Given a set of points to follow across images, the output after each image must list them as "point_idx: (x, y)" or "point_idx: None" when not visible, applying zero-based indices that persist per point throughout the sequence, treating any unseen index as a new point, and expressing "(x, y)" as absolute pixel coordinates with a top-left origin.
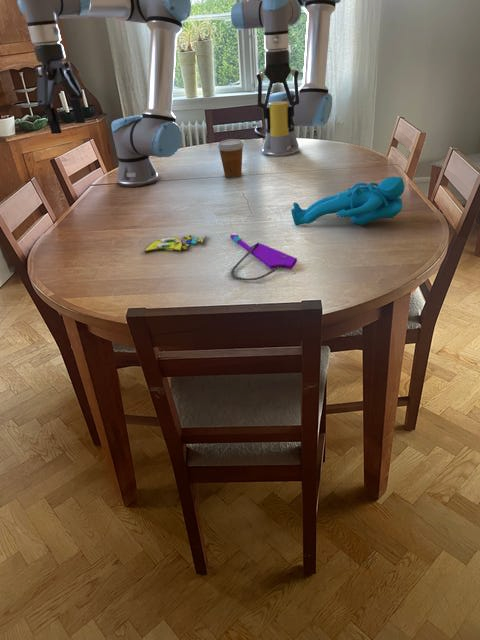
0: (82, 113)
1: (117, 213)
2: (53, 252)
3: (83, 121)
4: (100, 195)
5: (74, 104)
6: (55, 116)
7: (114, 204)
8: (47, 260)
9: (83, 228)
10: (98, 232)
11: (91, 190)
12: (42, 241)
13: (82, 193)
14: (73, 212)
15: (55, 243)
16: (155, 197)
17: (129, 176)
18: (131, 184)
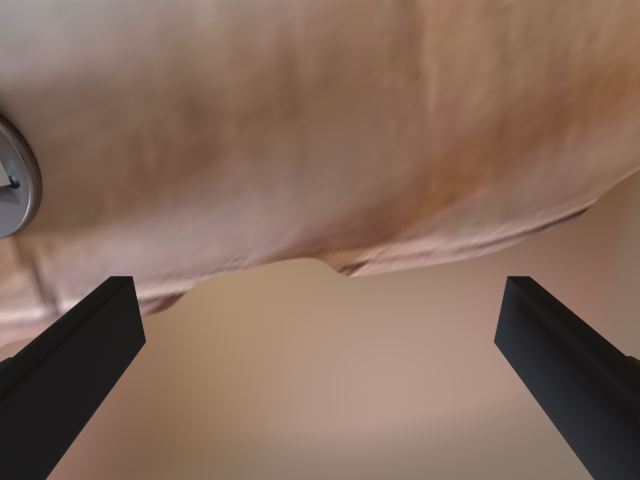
0: (70, 319)
1: (282, 100)
2: (566, 156)
3: (126, 283)
4: (134, 240)
5: (31, 449)
6: (631, 367)
7: (205, 152)
8: (616, 145)
9: (404, 156)
10: (439, 89)
11: None
12: (487, 227)
13: None
14: (282, 251)
15: (506, 183)
16: (114, 16)
17: (3, 174)
18: (30, 165)
